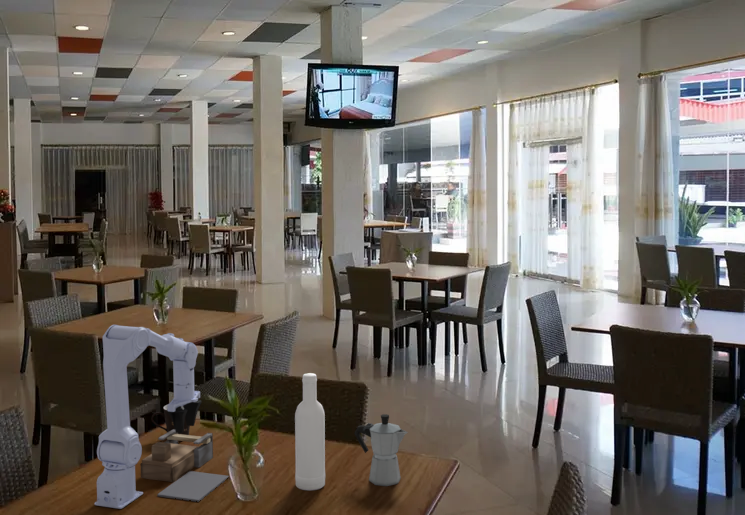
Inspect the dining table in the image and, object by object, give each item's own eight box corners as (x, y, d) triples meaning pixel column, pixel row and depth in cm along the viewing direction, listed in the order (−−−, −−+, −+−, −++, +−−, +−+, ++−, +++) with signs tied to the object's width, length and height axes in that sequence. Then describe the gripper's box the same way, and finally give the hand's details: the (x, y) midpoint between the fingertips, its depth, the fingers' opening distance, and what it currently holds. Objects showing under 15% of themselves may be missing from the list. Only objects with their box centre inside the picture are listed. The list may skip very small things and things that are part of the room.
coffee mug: (196, 433, 234) (195, 403, 233) (186, 442, 226) (186, 411, 225) (161, 432, 235) (160, 401, 234) (150, 441, 227) (149, 410, 226)
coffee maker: (411, 475, 200) (411, 412, 198) (403, 488, 191) (404, 422, 190) (359, 470, 204) (359, 407, 202) (349, 482, 195) (349, 417, 194)
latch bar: (206, 443, 209) (206, 439, 209) (167, 439, 213) (167, 435, 213) (210, 441, 211) (210, 437, 211) (171, 437, 215) (171, 433, 215)
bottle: (331, 483, 195) (330, 373, 192) (313, 493, 188) (312, 380, 185) (307, 476, 199) (306, 369, 196) (289, 486, 193) (288, 375, 190)
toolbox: (178, 482, 195) (177, 456, 194) (136, 477, 199) (135, 451, 198) (213, 457, 213) (212, 433, 212) (174, 452, 217) (173, 429, 216)
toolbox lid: (172, 467, 195) (171, 449, 195) (141, 463, 198) (141, 445, 197) (198, 449, 208) (197, 432, 208) (169, 446, 211) (168, 429, 210)
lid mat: (199, 501, 183) (199, 499, 183) (157, 496, 187) (157, 494, 186) (229, 477, 198) (229, 475, 198) (190, 472, 202) (190, 470, 202)
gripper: (182, 390, 201) (183, 438, 202) (209, 377, 214) (209, 422, 216) (160, 388, 203) (161, 435, 204) (187, 375, 216) (188, 420, 218)
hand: (185, 428), depth 210 cm, fingers open, 5 cm apart
